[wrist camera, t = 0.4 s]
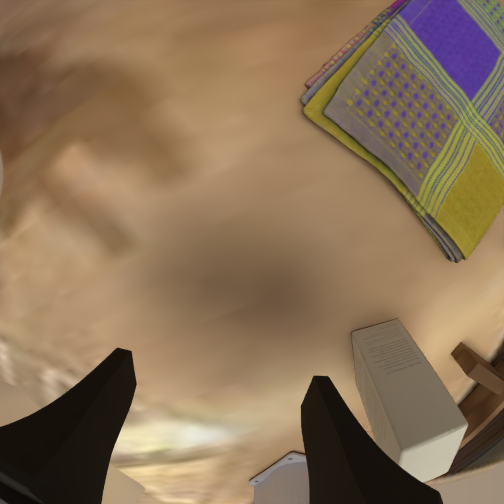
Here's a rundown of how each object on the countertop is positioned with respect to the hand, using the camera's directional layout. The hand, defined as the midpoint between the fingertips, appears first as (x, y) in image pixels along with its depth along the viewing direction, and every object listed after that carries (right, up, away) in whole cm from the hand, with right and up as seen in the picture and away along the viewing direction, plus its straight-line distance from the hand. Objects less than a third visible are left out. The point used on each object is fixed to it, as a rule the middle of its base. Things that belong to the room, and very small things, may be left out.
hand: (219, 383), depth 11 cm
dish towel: (+18, +18, +5) cm, 26 cm away
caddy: (+22, -9, +13) cm, 28 cm away
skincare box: (+12, -3, +12) cm, 17 cm away
